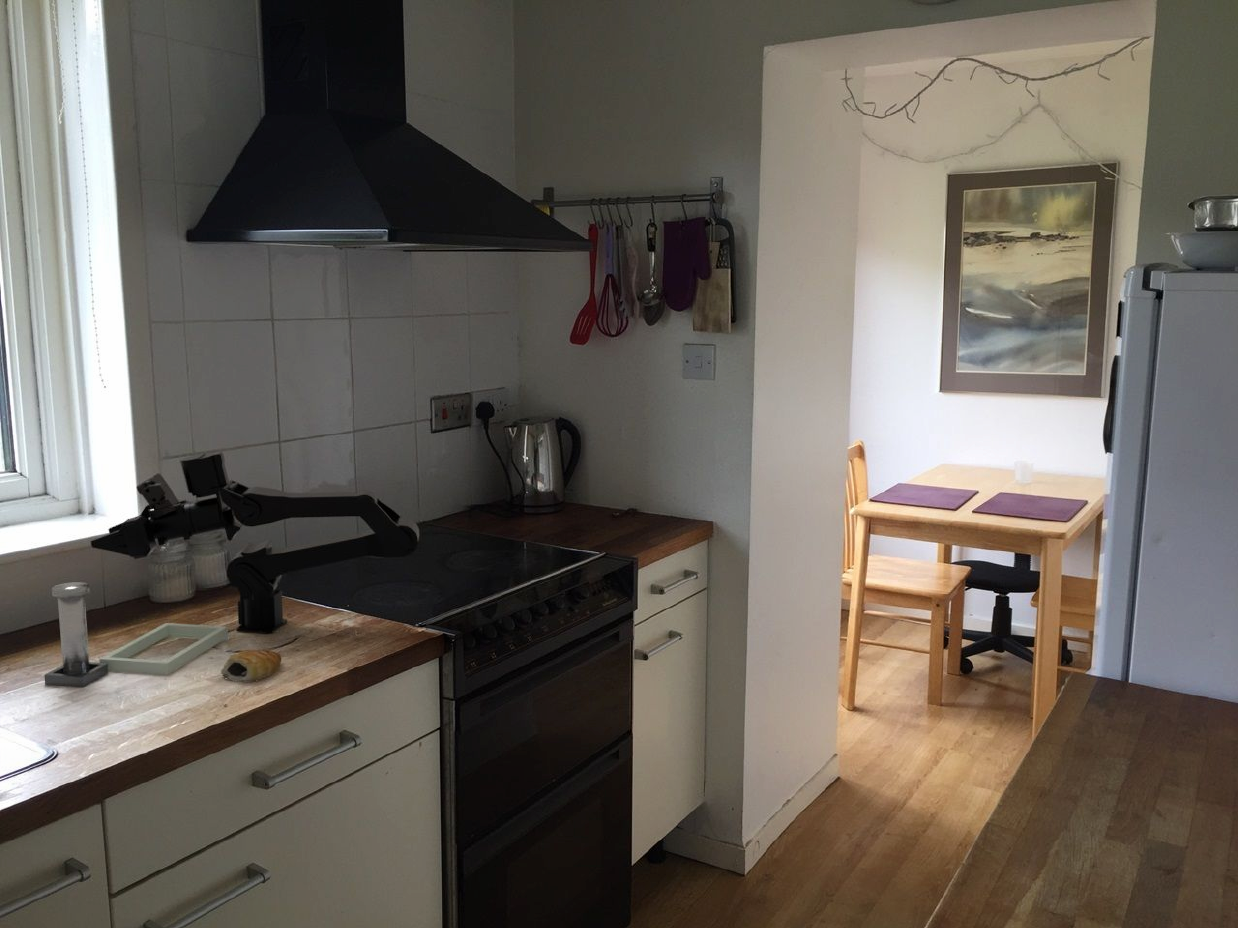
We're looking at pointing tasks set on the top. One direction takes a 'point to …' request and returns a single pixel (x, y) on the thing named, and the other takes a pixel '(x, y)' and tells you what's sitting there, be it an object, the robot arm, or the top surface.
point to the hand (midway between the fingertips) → (100, 537)
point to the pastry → (251, 665)
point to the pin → (73, 626)
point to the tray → (208, 639)
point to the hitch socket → (76, 676)
